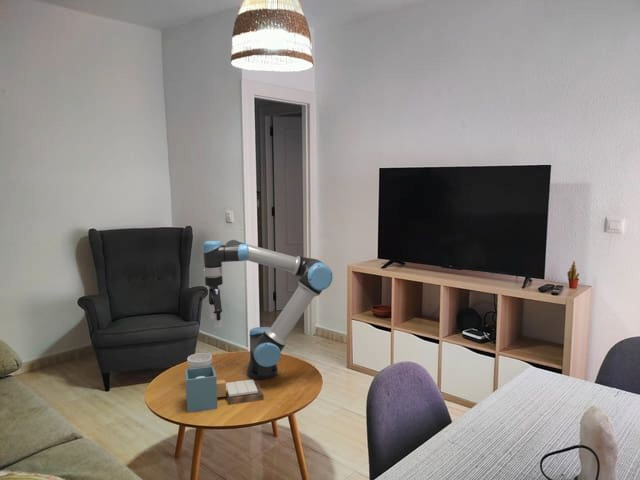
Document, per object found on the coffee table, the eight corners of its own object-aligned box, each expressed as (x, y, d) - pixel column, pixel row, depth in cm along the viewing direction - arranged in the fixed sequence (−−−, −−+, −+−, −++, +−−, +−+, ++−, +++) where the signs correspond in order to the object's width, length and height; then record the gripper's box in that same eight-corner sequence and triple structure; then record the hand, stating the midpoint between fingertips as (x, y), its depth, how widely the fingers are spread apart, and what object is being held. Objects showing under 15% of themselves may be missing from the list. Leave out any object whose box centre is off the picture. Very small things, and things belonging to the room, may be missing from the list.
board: (257, 386, 228) (257, 381, 228) (263, 399, 215) (263, 394, 215) (224, 391, 224) (224, 385, 223) (228, 404, 210) (228, 399, 210)
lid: (253, 384, 227) (252, 372, 226) (258, 396, 215) (257, 383, 214) (214, 389, 221) (214, 376, 221) (217, 401, 210) (217, 388, 209)
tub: (214, 396, 218) (213, 365, 217) (217, 408, 207) (216, 376, 205) (186, 400, 215) (185, 369, 213) (187, 412, 204) (186, 380, 202)
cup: (183, 389, 225) (181, 359, 223) (197, 380, 235) (196, 351, 234) (204, 393, 221) (202, 363, 219) (217, 383, 231) (217, 354, 229)
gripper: (201, 271, 228) (203, 316, 231) (209, 282, 205) (211, 332, 208) (217, 270, 230) (219, 314, 233) (227, 280, 207) (229, 329, 210)
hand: (216, 322), depth 220 cm, fingers open, 13 cm apart
